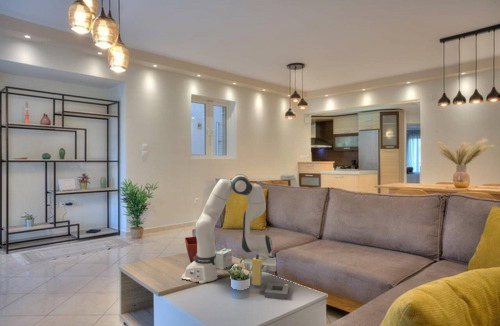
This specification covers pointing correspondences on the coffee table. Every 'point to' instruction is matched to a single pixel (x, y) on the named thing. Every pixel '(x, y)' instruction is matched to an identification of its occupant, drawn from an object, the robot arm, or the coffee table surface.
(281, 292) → the socket
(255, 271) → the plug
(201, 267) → the robot arm
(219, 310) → the coffee table surface
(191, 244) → the plant pot
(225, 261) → the light bulb box
